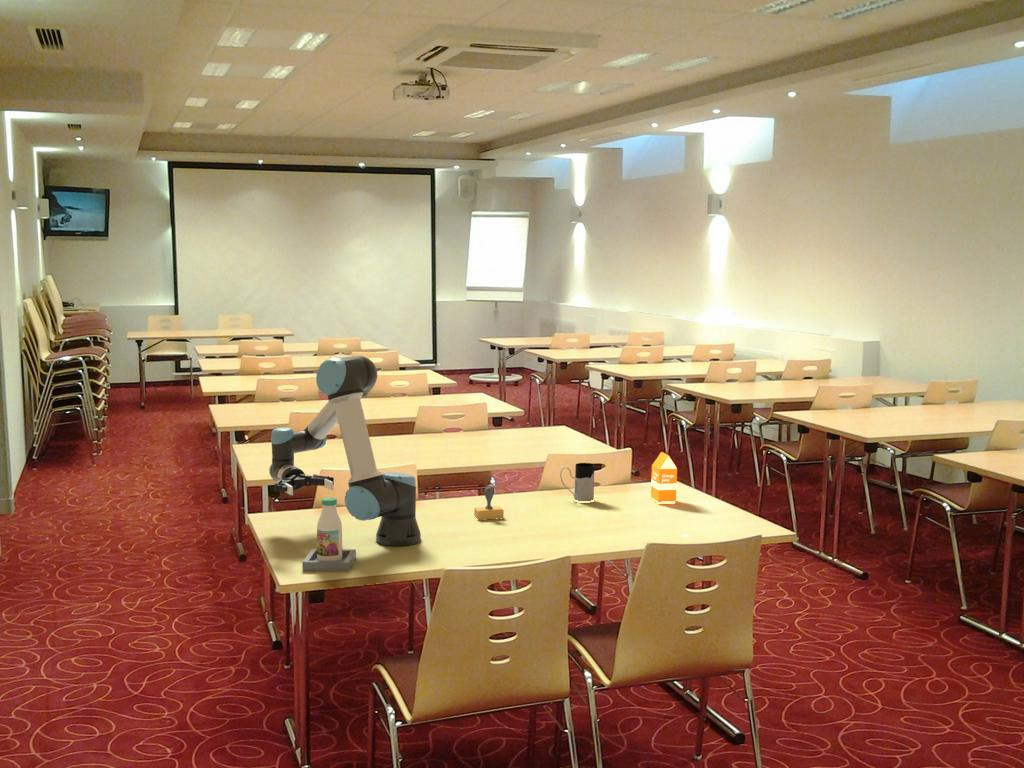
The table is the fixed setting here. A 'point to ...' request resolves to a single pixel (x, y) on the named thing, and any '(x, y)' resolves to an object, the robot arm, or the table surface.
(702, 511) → the table surface
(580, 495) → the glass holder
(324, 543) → the milk bottle
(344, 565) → the tray
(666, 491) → the orange juice
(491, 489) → the rubber stamp
